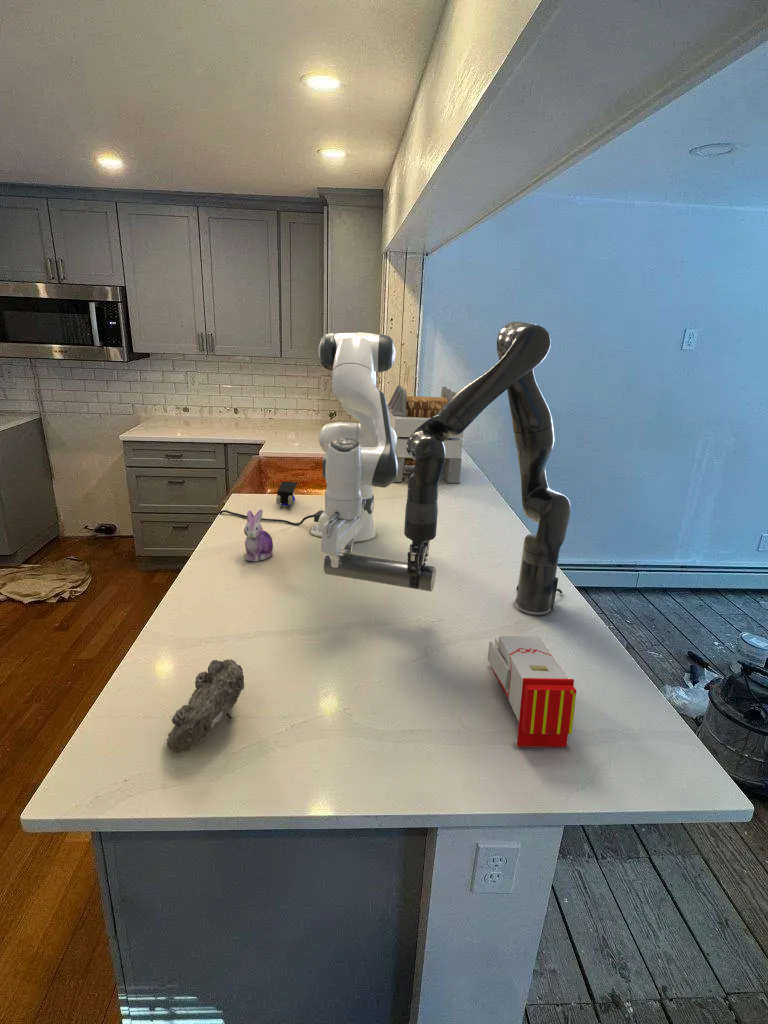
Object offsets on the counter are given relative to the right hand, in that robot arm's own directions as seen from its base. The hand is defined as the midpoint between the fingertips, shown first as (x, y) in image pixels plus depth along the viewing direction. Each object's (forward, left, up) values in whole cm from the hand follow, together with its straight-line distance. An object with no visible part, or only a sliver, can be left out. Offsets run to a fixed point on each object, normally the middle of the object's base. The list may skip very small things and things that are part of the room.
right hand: (417, 581), depth 138 cm
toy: (-10, +33, -12) cm, 37 cm away
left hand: (+16, -11, +3) cm, 20 cm away
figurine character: (+13, -98, -12) cm, 100 cm away
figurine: (+31, -52, -12) cm, 61 cm away
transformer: (-57, -129, -12) cm, 142 cm away
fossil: (+50, +20, -12) cm, 55 cm away
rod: (+8, -6, -2) cm, 10 cm away
